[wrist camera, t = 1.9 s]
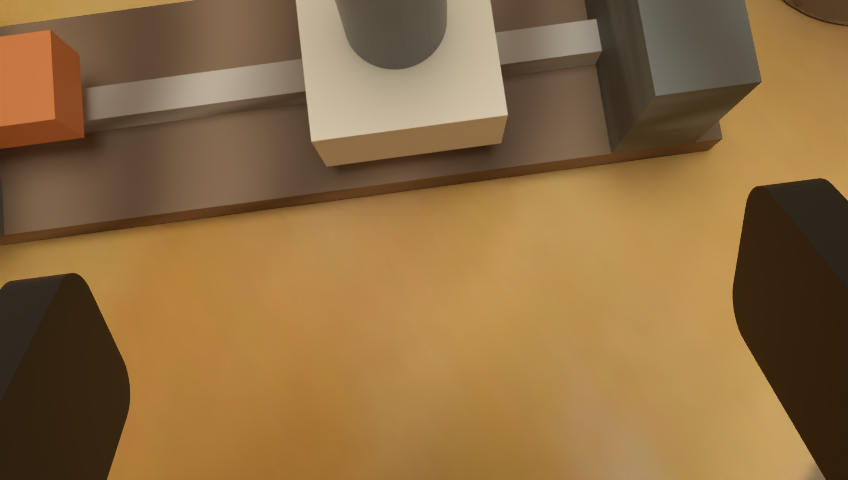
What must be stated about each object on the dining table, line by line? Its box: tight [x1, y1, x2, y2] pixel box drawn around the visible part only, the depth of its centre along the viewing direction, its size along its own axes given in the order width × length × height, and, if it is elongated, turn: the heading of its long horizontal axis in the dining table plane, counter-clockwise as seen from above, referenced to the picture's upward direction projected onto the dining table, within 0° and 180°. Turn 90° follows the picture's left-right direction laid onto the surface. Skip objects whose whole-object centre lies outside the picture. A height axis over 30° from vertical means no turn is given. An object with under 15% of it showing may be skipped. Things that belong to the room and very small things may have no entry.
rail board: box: [0, 0, 762, 245], centre depth 26 cm, size 30×8×8 cm, turn 97°
